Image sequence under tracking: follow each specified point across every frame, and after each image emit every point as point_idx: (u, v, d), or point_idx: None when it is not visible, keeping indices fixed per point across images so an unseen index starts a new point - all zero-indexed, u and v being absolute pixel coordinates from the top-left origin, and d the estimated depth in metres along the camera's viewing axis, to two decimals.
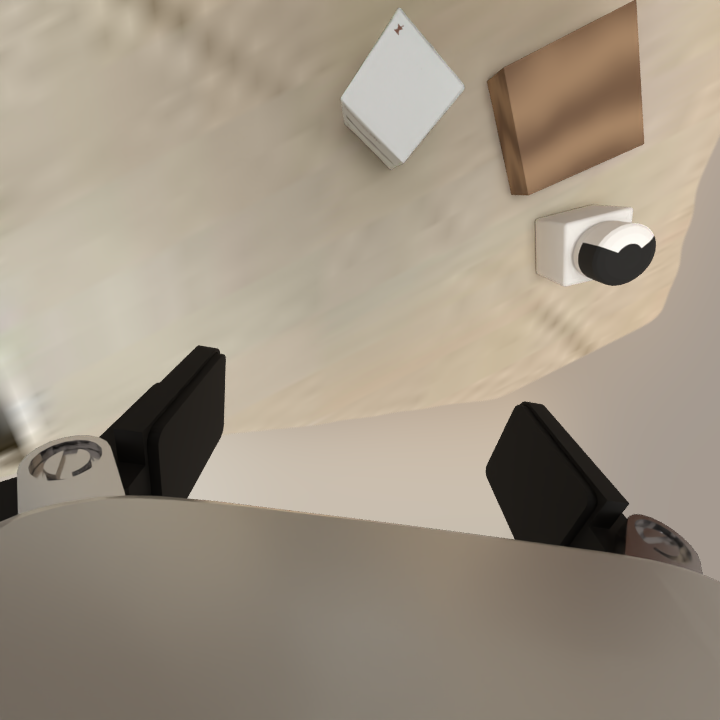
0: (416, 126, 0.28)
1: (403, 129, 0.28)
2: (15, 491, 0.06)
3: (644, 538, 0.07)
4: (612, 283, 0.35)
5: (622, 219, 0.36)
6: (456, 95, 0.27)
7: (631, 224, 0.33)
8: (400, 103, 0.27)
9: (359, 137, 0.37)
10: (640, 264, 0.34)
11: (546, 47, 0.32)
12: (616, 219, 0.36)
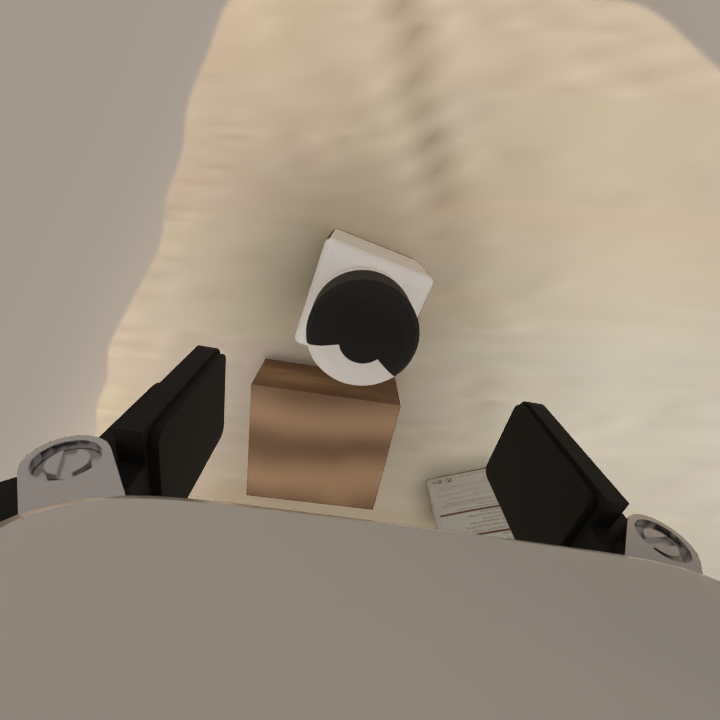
0: None
1: None
2: (15, 491, 0.06)
3: (644, 538, 0.07)
4: (401, 301, 0.17)
5: None
6: None
7: (337, 379, 0.19)
8: None
9: None
10: (347, 314, 0.17)
11: (331, 503, 0.33)
12: None
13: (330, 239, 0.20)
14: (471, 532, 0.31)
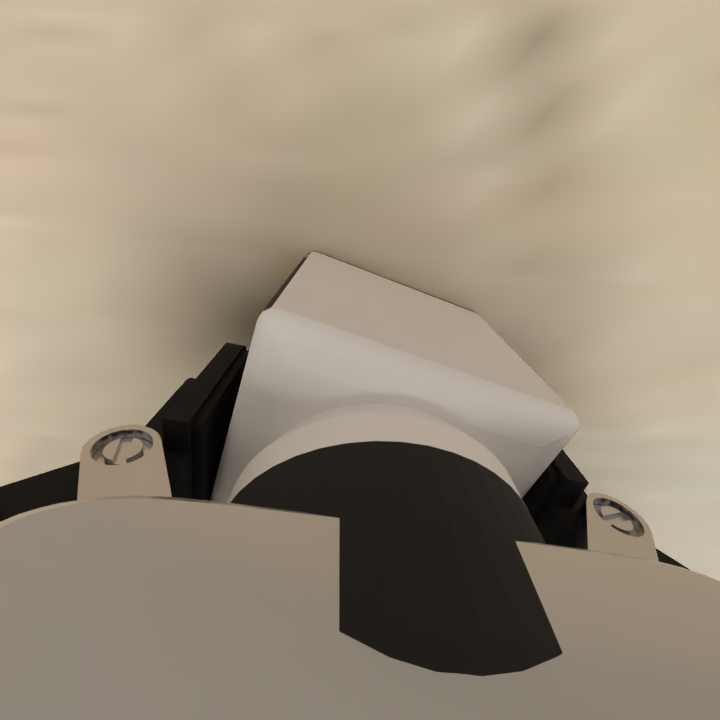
0: None
1: None
2: (76, 476, 0.06)
3: (602, 516, 0.07)
4: None
5: None
6: None
7: None
8: None
9: None
10: None
11: None
12: None
13: (273, 313, 0.06)
14: None
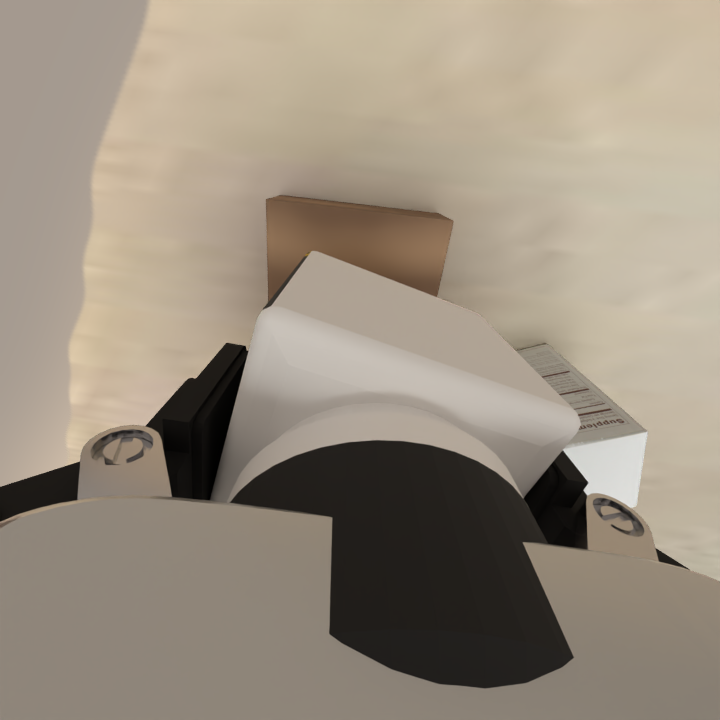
0: (602, 453, 0.21)
1: (617, 458, 0.22)
2: (76, 475, 0.06)
3: (602, 516, 0.07)
4: None
5: None
6: None
7: None
8: (597, 477, 0.22)
9: None
10: None
11: None
12: None
13: (273, 311, 0.06)
14: None
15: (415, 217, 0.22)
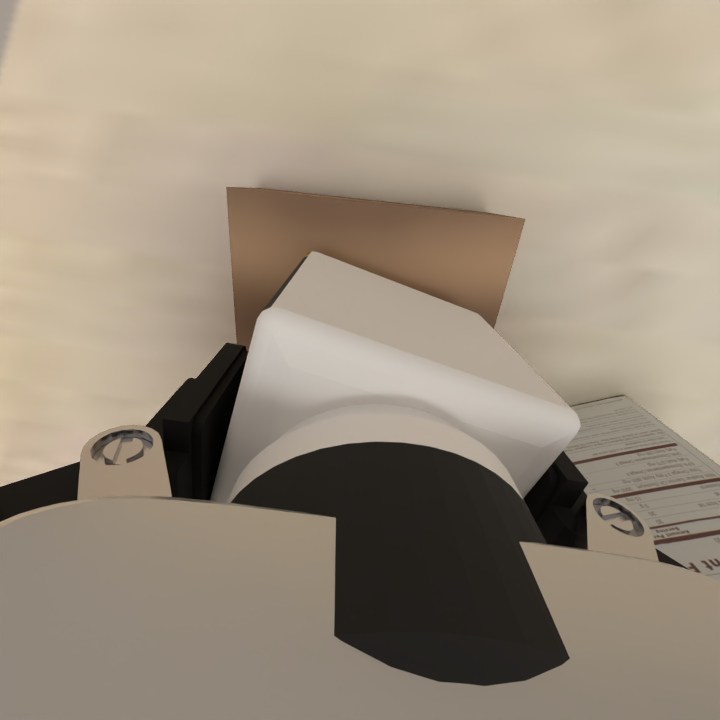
0: None
1: None
2: (76, 475, 0.06)
3: (602, 516, 0.07)
4: None
5: None
6: None
7: None
8: None
9: None
10: None
11: None
12: None
13: (272, 313, 0.06)
14: (636, 487, 0.17)
15: (464, 214, 0.14)
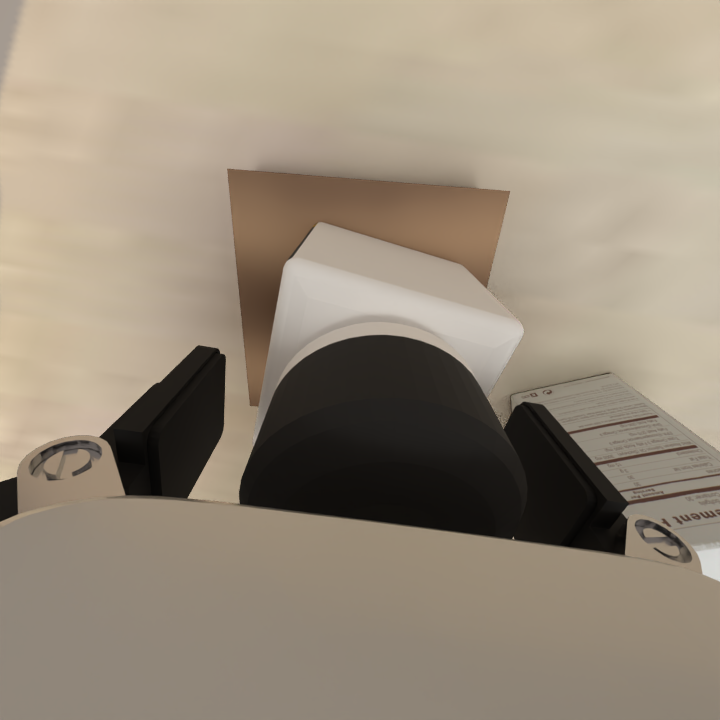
0: None
1: None
2: (15, 491, 0.06)
3: (644, 538, 0.07)
4: (486, 449, 0.06)
5: None
6: None
7: None
8: None
9: None
10: (336, 496, 0.06)
11: None
12: None
13: (294, 261, 0.09)
14: (617, 455, 0.18)
15: (452, 188, 0.15)
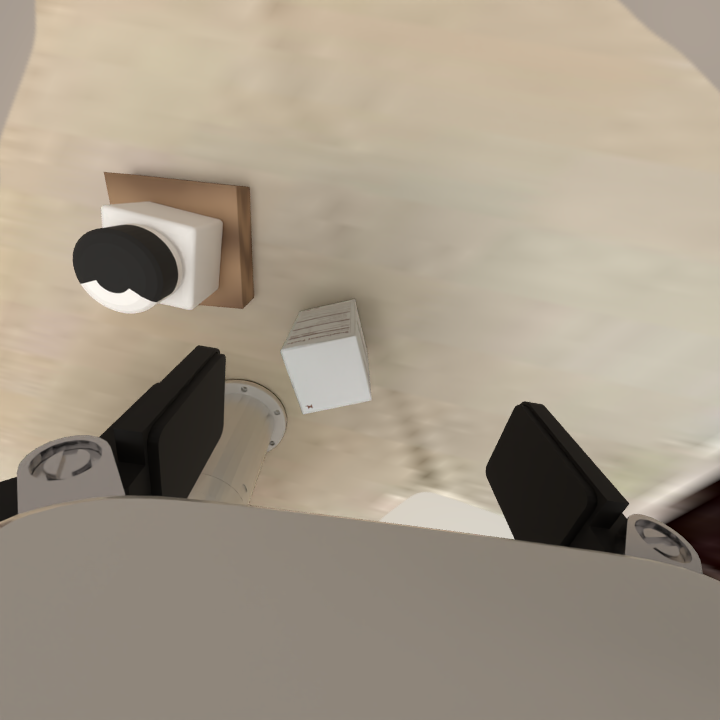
0: (330, 351, 0.31)
1: (341, 356, 0.31)
2: (15, 491, 0.06)
3: (644, 538, 0.07)
4: (130, 241, 0.23)
5: None
6: (289, 349, 0.31)
7: (114, 310, 0.26)
8: (333, 372, 0.32)
9: None
10: (92, 255, 0.23)
11: (204, 304, 0.37)
12: None
13: (103, 205, 0.26)
14: (314, 325, 0.36)
15: (209, 184, 0.32)
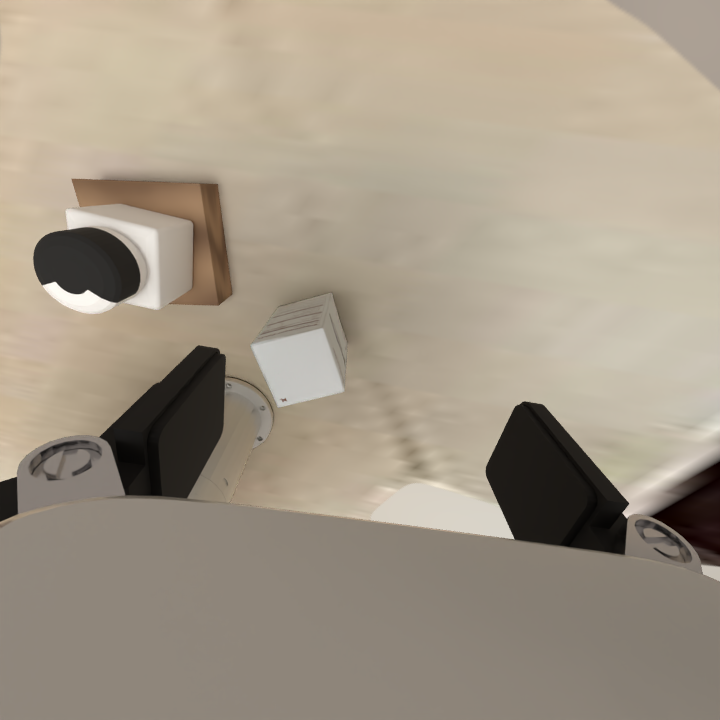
0: (298, 344, 0.31)
1: (310, 349, 0.32)
2: (15, 491, 0.06)
3: (644, 538, 0.07)
4: (86, 243, 0.24)
5: None
6: (258, 344, 0.31)
7: (77, 310, 0.26)
8: (303, 365, 0.32)
9: (342, 332, 0.42)
10: (50, 258, 0.24)
11: (181, 303, 0.38)
12: None
13: (68, 208, 0.27)
14: (287, 319, 0.36)
15: (173, 183, 0.33)
